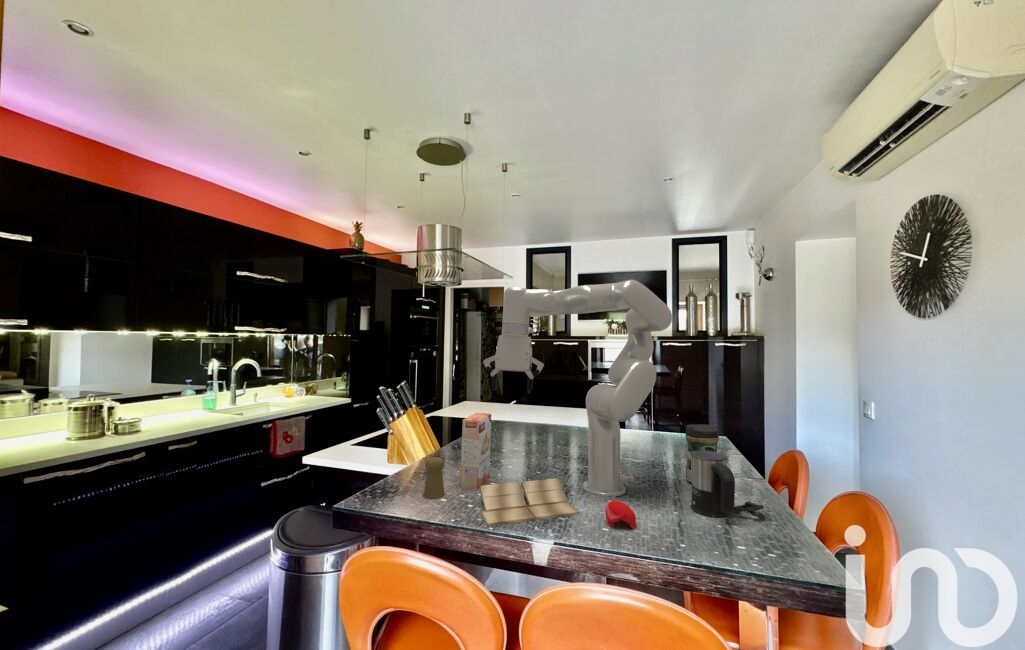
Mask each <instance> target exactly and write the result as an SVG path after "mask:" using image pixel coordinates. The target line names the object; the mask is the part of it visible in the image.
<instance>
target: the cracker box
mask: <svg viewBox="0 0 1025 650" xmlns="http://www.w3.org/2000/svg"><path fill="white" fill-rule="evenodd" d="M461 427H462V428H461V430H462V432H461V457H460V460H461V461H460V464H461V465H460V484H459V486H460V487H459V488H460V489H464V490H474V491H475V490H476V491H478V490H480V486H482V485H483V484H484V483H485V482H486V481H487V480H488V479H489V478H490V469H491V468H490V467H491V464H490V463H491V460H490V459H491V436H492V413H489V412H488V413H487V412H475V413H473V414H471V415H469V416H468V417H466V418H464V419H462V426H461Z"/></svg>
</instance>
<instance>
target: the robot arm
mask: <svg viewBox="0 0 1025 650" xmlns="http://www.w3.org/2000/svg"><path fill="white" fill-rule="evenodd" d="M628 309H629V310H628ZM619 310H620V311H621V310H627V312H626V314H625V320H624V321H625V325H626V330H627V341H626V343H625V345H624V347H623V348H622V349H621V351H620V352H619V353H618V355H617V357H616V358H615V360H614V361H613V362H612V363H611V365H610V367H609V368H608V372H607V379H609V382H610V383H611V384H612V385H610V384H606V383H605V384H602V383H600V384H596V385H593V386H592V387H590V389H589V390H588V391H587V394H586V396H585V408H586V414H587V423H588V426H587V427H588V429H587V430H588V437H587V438H588V445H587V446H588V449H587V450H588V453H587V454H588V455H587V456H588V458H587V464H588V465H587V472H588V473H587V478H588V479H587V480H585V481H584V482H583V484H582V488H583V490H584V491H587V492H588V493H590V494H594V495H598V496H602V497H603V496H605V497H606V496H607V497H616V496H617V497H621V496H623V495H625V494H626V486H625V485H626V483H634V482H635V477H634V475H627V476H626V474H625V473H623V474H621V427H620V422H627V421H629V420H630V419H632V418H633V417H634V416H635V415H636V414H637V413H638V410H640V408H641V406H642V405H643V403H644V402H645V401H646V399H647V397H648V396H649V394H650V393H651V392H652V389H653V388H654V386H655V383H656V380H657V371H656V368H655V366H654V365H653V363H652V362H651V361H650V359H651V357H652V355H653V353H654V340H653V336H652V335H653V334H652V332H662V331H664V330H667V329H668V328H669V327H670V325H671V324H672V321H673V315H672V310H671V309H670V307H669V306H668V305H667V304H666V303H665V302H664V301H663V300H662V299H660V297H658V296H657V295H656V294H655V293H654V292H653V291H652V290H650V289H649V287H647V286H646V285H644V284H643V283H641V282H639V281H637V280H635V279H628V280H622V281H619V282H612V283H611V282H610V283H601V284H600V283H599V284H584V285H577V286H573V287H570V288H567V289H562V290H554V291H553V290H552V289H551V290H550V289H547V288H540V289H539V288H536V289H533V288H532V289H529V288H525V287H519V286H518V287H514V286H513V287H508V288H506V289H505V290H504V293H503V309H502V324H501V325H502V326H501V334H500V335H499V336H498V339H497V346H496V351H495V354H494V355H492V356H490V357H488V358H486V359H484V360H483V364H484V367H485V369H486V371H487V372H488V374H489V375H490V376H491V381H490V382H491V383H490V388H492V391H493V392H495V391H498V387H499V386H498V385H499V376H498V373H500V372H501V371H505V372H506V371H507V372H522V373H523V372H524V373H525V374H526V375H527V377H528V378H527V379H526V394H531V391H533V390H534V379H535V377H537V376H538V375H539V374H540V373H541V371H542V370H543V368H544V367H545V366H544V365H545V364H544V363H543V362H541V361H539V360H538V359H536V358H534V357H533V345H532V337H531V336H529V335H530V334H533V333H534V327H530V323H529V322H530V317H532V318H539V317H547V316H558V315H579V314H590V313H597V312H598V313H599V312H609V311H619ZM493 361H494V367H495V368H492V366H491V365H490V364H491V362H493ZM532 364H534V365H536V366H537V367H536V369H535V370H534V371H533V372H532V367H533V365H532Z"/></svg>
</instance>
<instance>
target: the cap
mask: <svg viewBox="0 0 1025 650" xmlns="http://www.w3.org/2000/svg"><path fill="white" fill-rule="evenodd" d="M604 509H605V517H606V520H607V522H608V525H609V527H610V528H613V529H615V528H616V527H615V525H614V523H617V522H619V521H620V522H621V521H624V522H625V523H628V524H629V527H630V528H631V529H632V530H633V531H634V530H636V529H637V526H638V525H637V523H636V522H637V516H636V514H635V512H634V510H633V509H632V508H631V507H630V506H629V505H628V504H626V503H624V502H623V501H620V500H615V499H613V500H610V501H609V502H608V503H607V505H606V506H605V508H604Z"/></svg>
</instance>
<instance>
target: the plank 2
mask: <svg viewBox="0 0 1025 650" xmlns="http://www.w3.org/2000/svg"><path fill="white" fill-rule="evenodd" d="M520 487H522V488H521V490H522V492H523V495H524V498H525V499H526V500H525V501H526V504H527V506H530V505H539V504H547V503H556V502H564V501H568V502H569V499H568V497H567V496H566V494H565V491H564V489H563V486H562V485H561V483H560V481H559V479H558V478H557V477H556V478H548V479H545V478H544V479H537V480H536V479H535V480H527V481H526V480H525V481H521V484H520Z"/></svg>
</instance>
